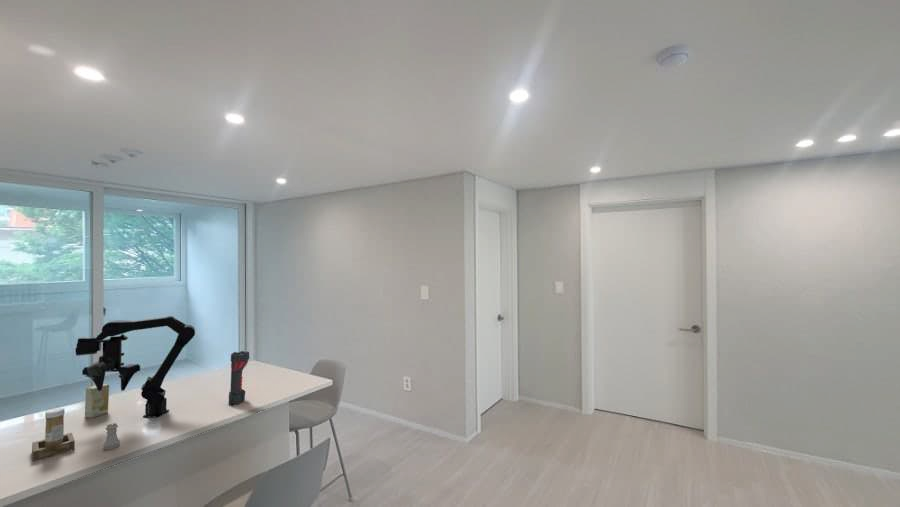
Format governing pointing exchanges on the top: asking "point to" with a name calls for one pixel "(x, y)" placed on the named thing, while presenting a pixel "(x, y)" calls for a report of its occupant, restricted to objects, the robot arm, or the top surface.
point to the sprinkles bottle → (54, 426)
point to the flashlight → (237, 376)
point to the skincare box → (96, 401)
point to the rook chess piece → (111, 437)
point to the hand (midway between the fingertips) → (111, 390)
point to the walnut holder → (52, 447)
